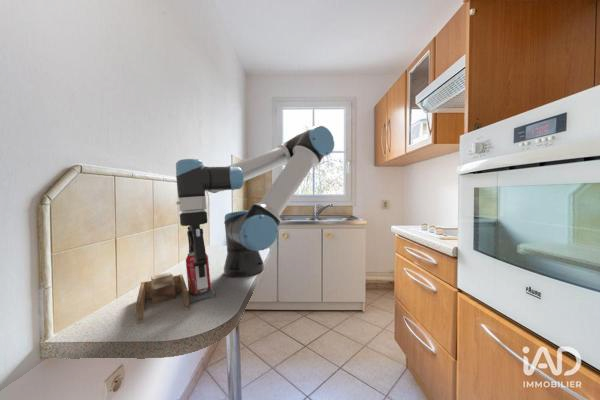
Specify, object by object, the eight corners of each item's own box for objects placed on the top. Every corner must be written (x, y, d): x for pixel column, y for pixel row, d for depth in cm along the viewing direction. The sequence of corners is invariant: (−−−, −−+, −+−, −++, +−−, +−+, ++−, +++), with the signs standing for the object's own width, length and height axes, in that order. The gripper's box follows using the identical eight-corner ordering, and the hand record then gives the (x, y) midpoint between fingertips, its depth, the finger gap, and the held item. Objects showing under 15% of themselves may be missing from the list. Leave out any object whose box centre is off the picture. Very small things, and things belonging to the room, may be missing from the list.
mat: (209, 287, 79) (209, 285, 79) (215, 296, 71) (215, 294, 71) (186, 293, 75) (185, 291, 75) (189, 303, 68) (188, 300, 68)
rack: (183, 289, 79) (182, 274, 79) (189, 309, 63) (187, 290, 63) (142, 298, 73) (141, 282, 73) (138, 323, 58) (136, 302, 58)
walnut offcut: (175, 293, 76) (173, 281, 76) (175, 298, 72) (174, 284, 72) (152, 299, 73) (151, 286, 73) (152, 303, 69) (151, 289, 69)
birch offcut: (170, 281, 76) (169, 272, 75) (173, 284, 73) (172, 274, 73) (151, 286, 72) (150, 276, 72) (154, 289, 70) (153, 279, 70)
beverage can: (199, 287, 78) (196, 250, 78) (215, 288, 76) (212, 250, 76) (183, 295, 72) (180, 255, 72) (200, 296, 70) (197, 255, 70)
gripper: (176, 212, 82) (182, 274, 82) (183, 213, 60) (190, 298, 60) (200, 209, 86) (205, 269, 86) (214, 210, 64) (221, 290, 64)
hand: (199, 281), depth 73 cm, fingers open, 13 cm apart
